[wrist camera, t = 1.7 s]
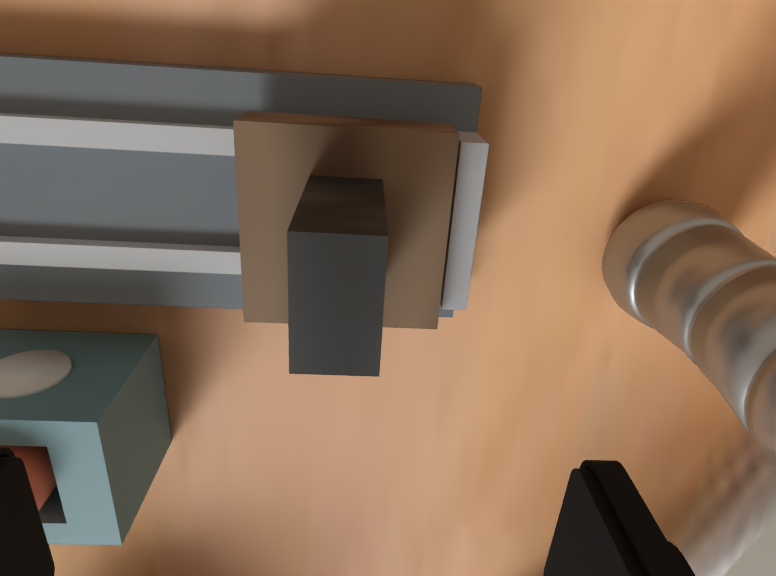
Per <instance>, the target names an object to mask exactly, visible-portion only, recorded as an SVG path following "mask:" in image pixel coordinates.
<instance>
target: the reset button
mask: <svg viewBox="0 0 776 576" xmlns="http://www.w3.org/2000/svg"><path fill="white" fill-rule="evenodd" d="M0 448H9V449H11V450H12V451H13V453H14V455H15V457H20V458H21V459H22V460H23V462H24V464H25V468H26V471H27V475H28V478H29V481H30V485H31V488H32V491H33V495H34V498H35V502H36V505H37V508H38V511H39V510H40V508H41V507H42V506H43V504H44V503H45V501H46V500H47V498H48V497H49V495H50V494H51V492H52V491H53V490H54V488H55V487H56V485H57V483H56V479H55V475H54V472H53V468H52V464H51V460H50V456H49V452H48V448H47V447H46V446H5V445H0Z"/></svg>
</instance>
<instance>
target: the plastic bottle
mask: <svg viewBox="0 0 776 576" xmlns="http://www.w3.org/2000/svg"><path fill="white" fill-rule="evenodd" d="M602 272H603V278H604V280H605V283H606V285H607V288H608V289H609V291H610V293H611V295H612V297H613V299H614V300H615V302H616V303H617V304H618V306H619V307H620V308H621V309H623V310H624V311H625V312H626V313H628V314H629V315H631V316H632V317H633V318H635V319H636V320H638V321H639V322H641V323H643V324H645V325H647V326H649V327H651V328H653V329H655V330H656V331H658V332H659V333H660V334H661V335H663V336H664V337H665V338H667V339H668V340H669V341H670V342H672V343H673V344H674V345H676V346H677V347H678V348H679V349H681V350H682V351H683V352H684V353H685V354H686V355H687V356H688V357H689V358H690V359H691V360H692V362H693V363H694V364H696V365H697V366H698V368H699V369H700V371H701V372H702V373H703V374H704V375H705V376H706V377H707V378H708V379H709V381H710V382H711V383H712V384H713V385H714V386H715V387H716V388H717V390H718V391H719V392H720V393H721V395H722V396H723V398H724V399H725V400H726V402H727V403H728V405H729V406H730V408H731V409H732V410H733V412H734V413H735V415H736V416H737V418H738V419H739V420H740V422H741V423H742V425H743V426H744V427H745V429H746V430H747V432H748V433H749V435H750V436H751V438H752V439H753V441H754V442H755V443H756V445H757V446H758V447H759V449H760V450H761V451H762V452H763V453H764V454H765V456H766V457H767V458H768V459H769V461H770V462H771V463H772V464H773V465H774V466H775V467H776V258H775V257H774V256H772V255H771V254H770V253H768V252H767V251H765V250H764V249H762V248H761V247H759V246H758V245H756V244H755V243H754V242H752V241H751V240H749V239H748V238H746V237H745V236H744V235H743V234H742V233H741V232H740V231H739V230H738V229H737V228H736V227H735V226H734V225H733V224H732V223H731V222H730V221H729V220H727V219H726V218H725V217H724V216H722V215H721V214H720V213H719V212H717V211H715V210H714V209H712V208H710V207H709V206H706V205H702V204H699V203H694V202H689V201H684V200H672V199H669V200H662V201H657V202H654V203H651V204H648V205H646V206H644V207H642V208H640V209H638V210H636V211H635V212H633V213H632V214H631V215H629V216H628V217H627V218H626V219H625V220H624V221H623V222H622V223H621V224H620V225H619V226H618V227H617V228H616V230H615V231H614V233H613V234H612V235H611V237H610V239H609V241H608V243H607V245H606V247H605V251H604V255H603V260H602Z"/></svg>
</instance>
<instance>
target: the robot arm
mask: <svg viewBox="0 0 776 576" xmlns="http://www.w3.org/2000/svg"><path fill="white" fill-rule="evenodd" d="M54 571H55V567H54V562H53V559H52V555H51V552H50V549H49V545H48V542H47V539H46V535H45V532H44V528H43V525H42V522H41V518H40V515H39V512H38V508H37V505H36V502H35V498H34V495H33V491H32V488H31V485H30V481H29V478H28V475H27V471H26V468H25V464H24V462H23V460H22V459H21V458H20V457H15V455H14V453H13V451H12V450H11V449H9V448H0V576H54ZM544 576H695V574H694V573H693V571H692V569H691V568H690V566H689V564H688V563H687V561H686V559H685V558H684V556H683V555H682V553H681V552H680V551H679V549H678V548H677V547H676V546H675V545H673V544H672V543H671V542H668V541H667V540H666V538H665V536H664V535H663V533H662V531H661V530H660V528H659V526H658V525H657V523H656V521H655V519H654V518H653V516H652V514H651V513H650V511H649V509H648V507H647V506H646V504H645V502H644V501H643V499H642V497H641V496H640V494H639V492H638V490H637V489H636V487H635V485H634V484H633V482H632V480H631V479H630V477H629V475H628V473H627V472H626V470H625V468H624V467H623V466H622V464H621V463H620V462H618V461H602V460H584V461H583V462H582V464H581V466H580V469H577V468H576V469H573V470H572V472H571V474H570V478H569V482H568V485H567V489H566V492H565V496H564V500H563V503H562V507H561V510H560V514H559V518H558V521H557V525H556V528H555V532H554V536H553V539H552V543H551V546H550V550H549V554H548V557H547V561H546V565H545V568H544Z"/></svg>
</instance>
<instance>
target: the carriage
mask: <svg viewBox="0 0 776 576" xmlns="http://www.w3.org/2000/svg"><path fill="white" fill-rule="evenodd" d="M233 131H234V149H235V167H236V186H237V204H238V222H239V240H240V258H241V276H242V294H243V312H244V322H262V323H288V325H289V374H318V375H349V376H379V371H380V356H381V341H382V327H393V328H419V329H437V325H438V317H439V308H440V300H441V291H442V282H443V274H444V265H445V257H446V248H447V240H448V231H449V222H450V214H451V205H452V197H453V188H454V179H455V171H456V162H457V154H458V145H459V136H460V134H459V133H458V132H457V130H456V129H455V128H454V127H453V126H452V125H451V124H450V123H443V122H426V121H410V120H394V119H377V118H361V117H344V116H328V115H311V114H295V113H279V112H262V111H247V112H245V113H244V114H242V115H241V116H239V117H237V118H236V119H234V120H233Z"/></svg>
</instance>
